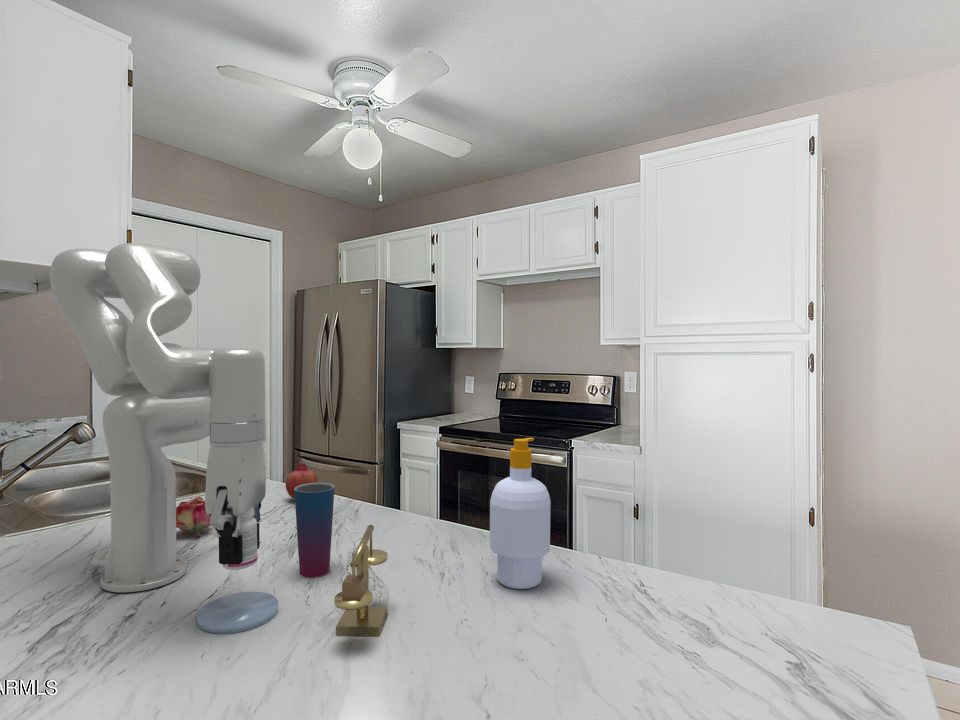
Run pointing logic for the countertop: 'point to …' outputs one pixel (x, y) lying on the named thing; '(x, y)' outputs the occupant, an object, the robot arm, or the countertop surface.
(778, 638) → the countertop surface
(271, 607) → the saucer
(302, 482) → the fruit
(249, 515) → the pill bottle
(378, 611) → the balance
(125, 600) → the countertop surface
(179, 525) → the flower
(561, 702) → the countertop surface
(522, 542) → the soap bottle
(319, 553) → the cup
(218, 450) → the robot arm
